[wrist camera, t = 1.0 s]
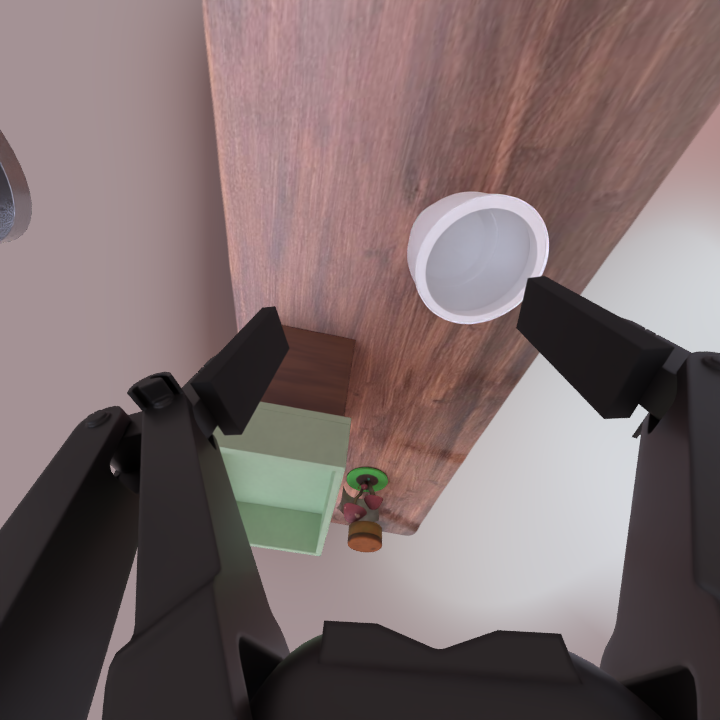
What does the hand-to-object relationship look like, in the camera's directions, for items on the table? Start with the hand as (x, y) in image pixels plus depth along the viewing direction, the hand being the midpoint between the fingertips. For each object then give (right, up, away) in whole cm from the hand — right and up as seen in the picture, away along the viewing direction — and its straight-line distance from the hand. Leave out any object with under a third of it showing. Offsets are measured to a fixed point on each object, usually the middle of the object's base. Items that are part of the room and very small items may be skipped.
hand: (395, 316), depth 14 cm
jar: (+9, +14, +20) cm, 26 cm away
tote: (-13, -16, +19) cm, 28 cm away
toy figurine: (-1, -33, +53) cm, 62 cm away
